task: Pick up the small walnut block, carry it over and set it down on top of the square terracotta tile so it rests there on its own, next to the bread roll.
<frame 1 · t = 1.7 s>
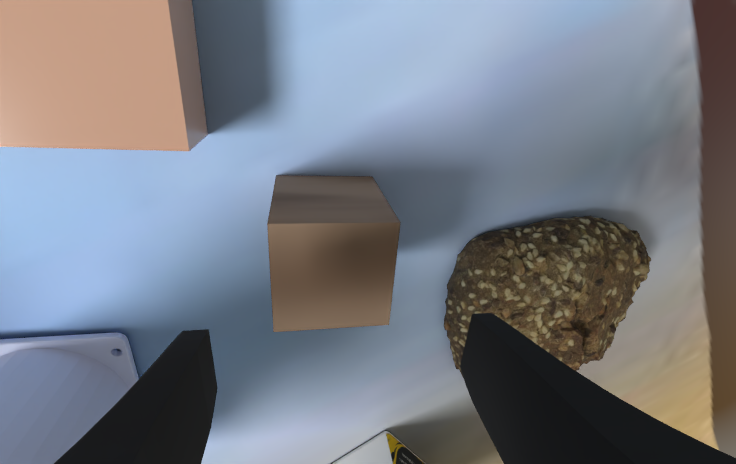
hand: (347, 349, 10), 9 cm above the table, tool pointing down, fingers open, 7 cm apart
walnut block: (324, 219, 18), on the table
terracotta tile: (75, 17, 13), on the table
bread roll: (527, 300, 24), on the table
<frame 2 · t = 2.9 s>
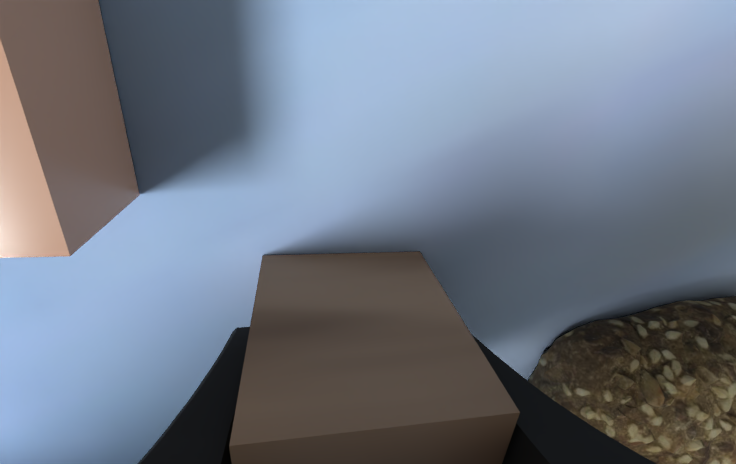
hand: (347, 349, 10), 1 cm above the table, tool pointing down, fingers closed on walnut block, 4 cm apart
walnut block: (341, 316, 11), on the table, touching gripper
bread roll: (622, 399, 17), on the table
when the fingers open (5 cm above the table, at t = 5.7 s): walnut block stays where it is, resting on terracotta tile.
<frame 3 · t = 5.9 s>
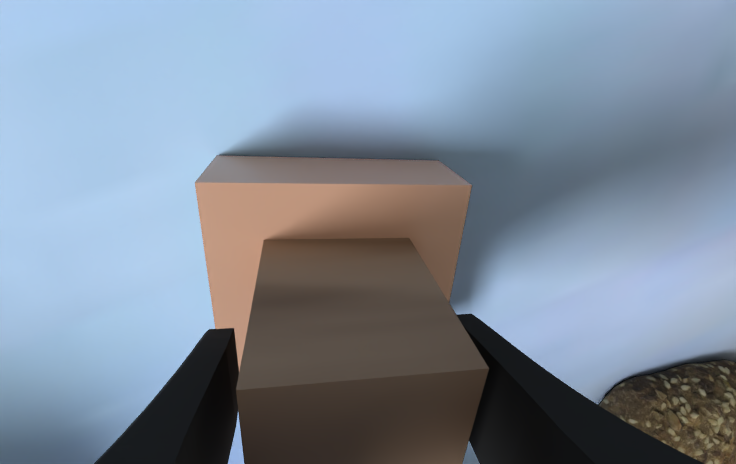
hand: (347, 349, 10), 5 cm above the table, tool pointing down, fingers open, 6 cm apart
walnut block: (336, 298, 12), point 3 cm above the table, touching terracotta tile
terracotta tile: (331, 254, 15), on the table
bread roll: (649, 420, 26), on the table
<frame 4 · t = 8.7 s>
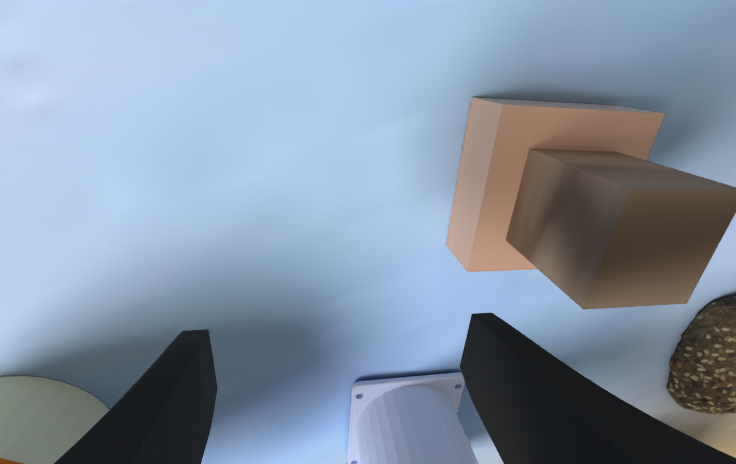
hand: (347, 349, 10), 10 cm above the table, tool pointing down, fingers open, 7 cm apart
reusable coffee cup: (36, 428, 22), on the table
walnut block: (559, 197, 17), point 3 cm above the table, touching terracotta tile
terracotta tile: (525, 178, 20), on the table
bread roll: (725, 342, 31), on the table
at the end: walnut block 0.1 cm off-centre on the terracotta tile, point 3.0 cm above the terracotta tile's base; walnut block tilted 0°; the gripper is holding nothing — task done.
